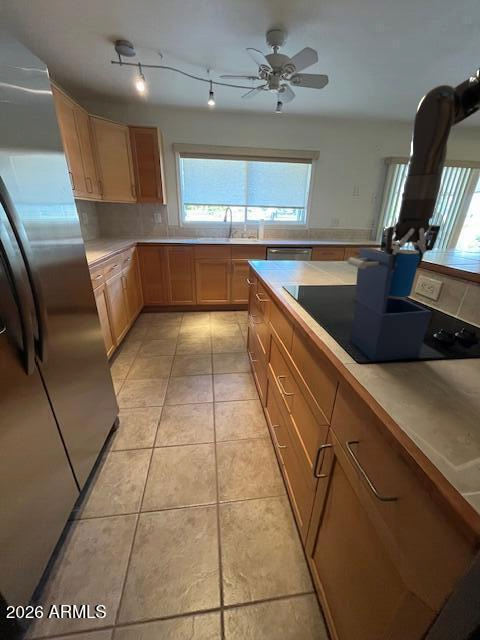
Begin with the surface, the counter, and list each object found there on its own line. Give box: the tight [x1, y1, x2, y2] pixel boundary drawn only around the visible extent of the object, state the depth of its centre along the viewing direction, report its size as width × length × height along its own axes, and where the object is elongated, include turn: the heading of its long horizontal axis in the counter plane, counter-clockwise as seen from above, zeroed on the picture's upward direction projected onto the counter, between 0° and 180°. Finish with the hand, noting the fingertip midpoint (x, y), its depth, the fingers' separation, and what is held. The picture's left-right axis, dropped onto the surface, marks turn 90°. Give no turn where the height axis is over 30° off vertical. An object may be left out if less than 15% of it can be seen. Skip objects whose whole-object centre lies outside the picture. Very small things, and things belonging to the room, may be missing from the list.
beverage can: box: [388, 249, 420, 300], centre depth 69 cm, size 6×6×12 cm
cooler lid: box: [347, 247, 394, 313], centre depth 68 cm, size 14×13×6 cm
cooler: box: [349, 297, 433, 363], centre depth 75 cm, size 14×13×14 cm
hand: (402, 268), depth 68 cm, fingers closed on beverage can, 6 cm apart
